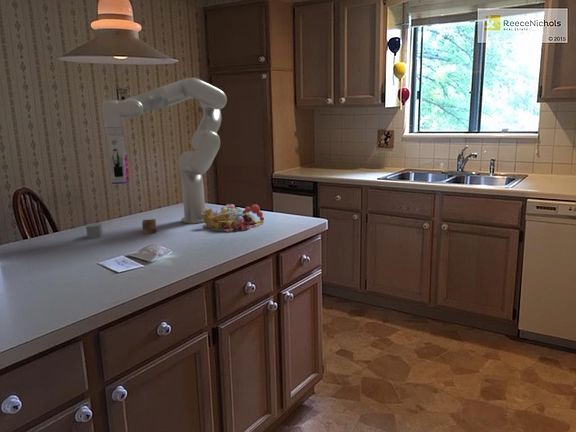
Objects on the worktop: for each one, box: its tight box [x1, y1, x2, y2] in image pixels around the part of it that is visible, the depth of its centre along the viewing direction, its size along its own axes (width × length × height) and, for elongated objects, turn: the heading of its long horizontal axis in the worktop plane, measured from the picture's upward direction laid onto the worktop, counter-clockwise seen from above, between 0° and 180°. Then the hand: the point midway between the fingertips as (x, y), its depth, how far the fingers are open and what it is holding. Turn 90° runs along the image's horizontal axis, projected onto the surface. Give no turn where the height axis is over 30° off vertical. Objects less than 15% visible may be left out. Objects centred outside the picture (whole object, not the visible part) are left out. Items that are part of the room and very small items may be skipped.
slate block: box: [85, 222, 104, 239], centre depth 200 cm, size 5×5×5 cm
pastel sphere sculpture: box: [201, 203, 265, 233], centre depth 211 cm, size 25×24×9 cm
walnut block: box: [141, 218, 157, 235], centre depth 204 cm, size 5×5×5 cm
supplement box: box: [108, 154, 130, 185], centre depth 200 cm, size 6×6×12 cm
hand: (120, 175), depth 200 cm, fingers closed on supplement box, 6 cm apart
